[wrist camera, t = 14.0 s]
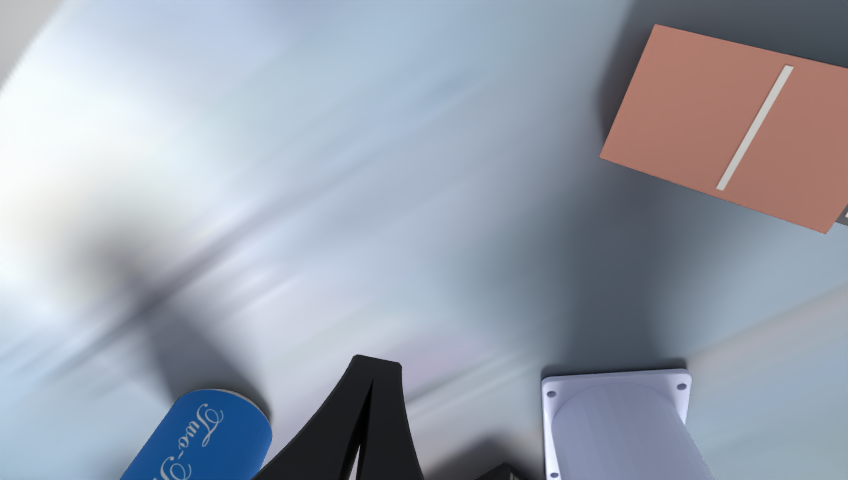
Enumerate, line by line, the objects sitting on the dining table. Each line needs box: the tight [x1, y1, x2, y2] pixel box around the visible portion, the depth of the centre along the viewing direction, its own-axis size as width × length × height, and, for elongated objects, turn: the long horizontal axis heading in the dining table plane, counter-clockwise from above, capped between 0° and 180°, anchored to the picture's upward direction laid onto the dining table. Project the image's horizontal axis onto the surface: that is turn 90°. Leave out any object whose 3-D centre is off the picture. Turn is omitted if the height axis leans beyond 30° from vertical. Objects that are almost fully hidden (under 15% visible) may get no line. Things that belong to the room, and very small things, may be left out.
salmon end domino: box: [599, 24, 848, 234], centre depth 17 cm, size 2×5×8 cm
